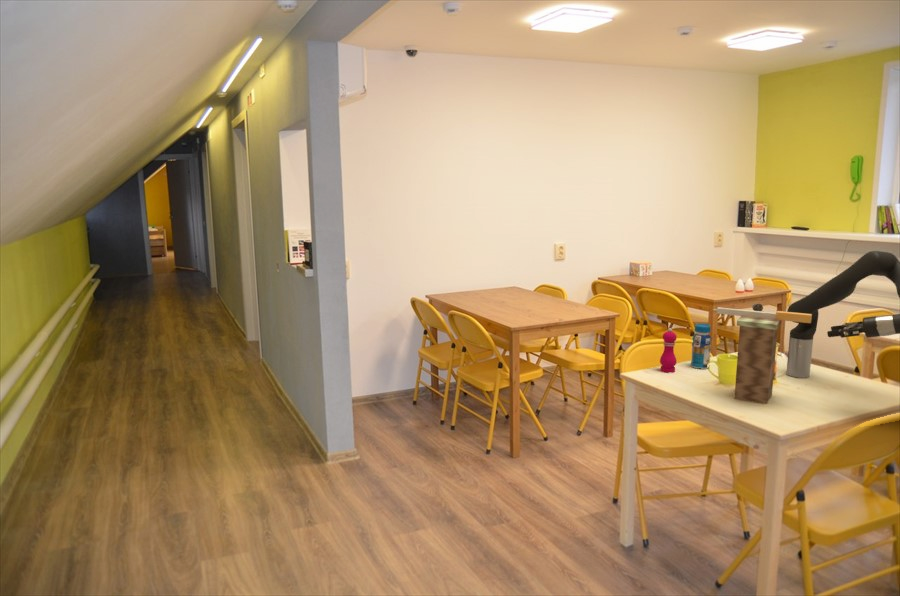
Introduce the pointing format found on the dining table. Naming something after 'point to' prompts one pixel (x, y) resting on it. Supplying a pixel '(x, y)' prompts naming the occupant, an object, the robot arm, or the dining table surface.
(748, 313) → the knife
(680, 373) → the dining table surface
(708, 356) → the blue snack canister
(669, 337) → the pepper mill
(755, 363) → the brown zigzag canister
